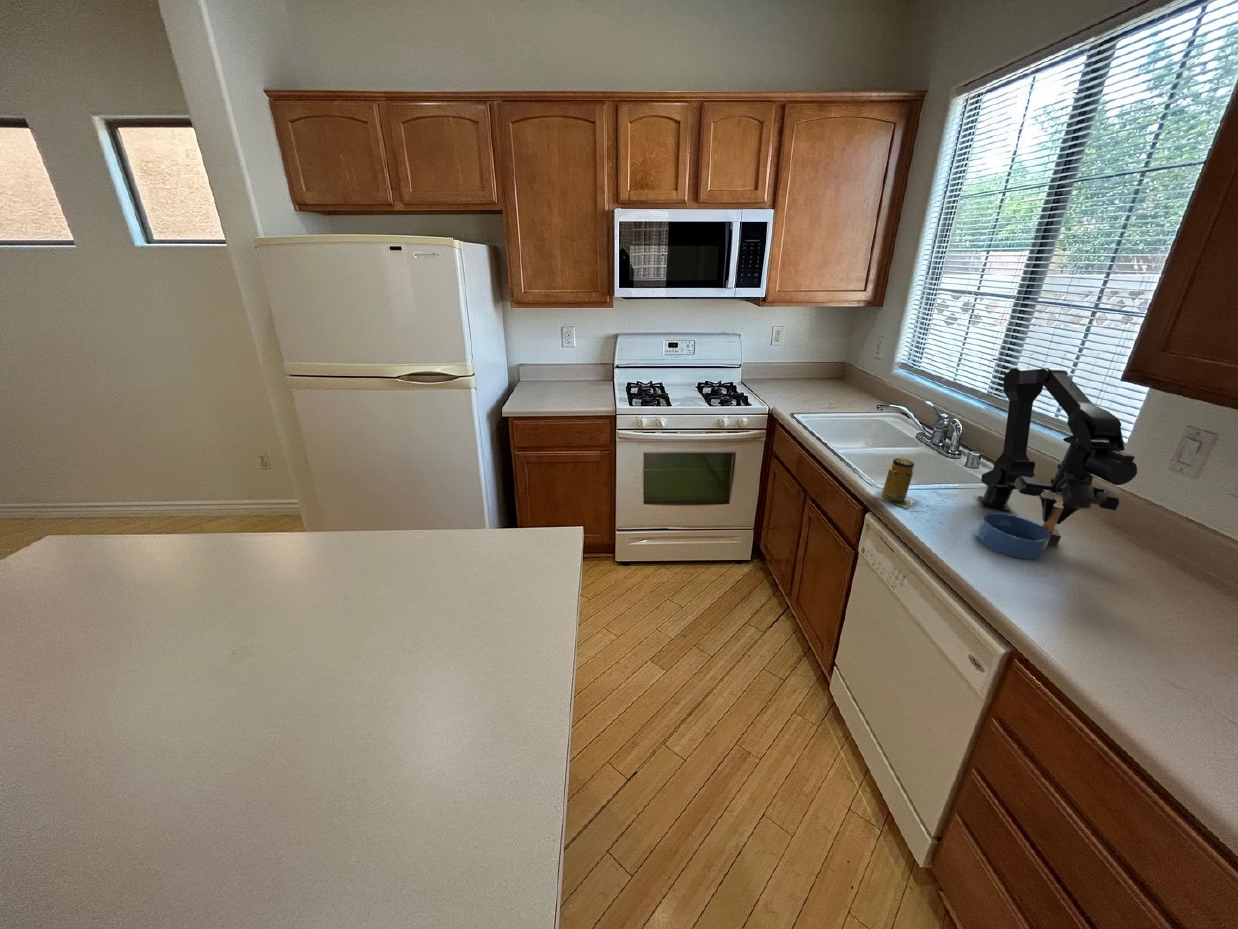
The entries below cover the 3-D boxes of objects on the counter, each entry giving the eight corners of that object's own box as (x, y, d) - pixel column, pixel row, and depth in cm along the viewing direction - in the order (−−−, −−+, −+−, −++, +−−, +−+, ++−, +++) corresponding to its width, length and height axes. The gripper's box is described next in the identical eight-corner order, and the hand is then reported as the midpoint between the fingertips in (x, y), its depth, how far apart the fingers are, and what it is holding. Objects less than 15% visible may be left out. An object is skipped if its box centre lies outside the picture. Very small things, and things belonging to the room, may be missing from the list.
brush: (1028, 533, 124) (1043, 500, 119) (1051, 538, 122) (1068, 504, 118) (1032, 541, 120) (1048, 507, 116) (1056, 546, 119) (1073, 512, 114)
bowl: (970, 526, 126) (977, 508, 124) (1031, 538, 122) (1039, 520, 119) (982, 551, 115) (990, 532, 113) (1049, 566, 111) (1058, 546, 108)
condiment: (886, 490, 144) (897, 454, 139) (916, 501, 138) (928, 464, 133) (875, 497, 140) (886, 460, 135) (905, 509, 134) (917, 470, 129)
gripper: (1040, 470, 109) (1014, 528, 116) (1146, 488, 102) (1113, 548, 109) (1025, 454, 118) (1002, 508, 125) (1122, 468, 112) (1092, 525, 118)
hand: (1050, 522), depth 119 cm, fingers closed on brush, 2 cm apart
